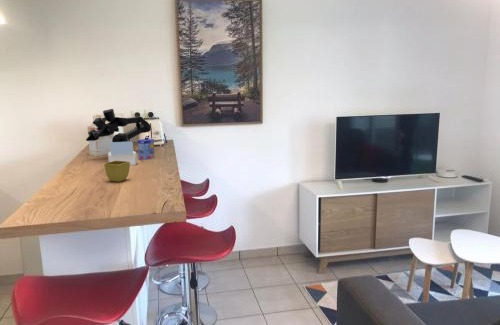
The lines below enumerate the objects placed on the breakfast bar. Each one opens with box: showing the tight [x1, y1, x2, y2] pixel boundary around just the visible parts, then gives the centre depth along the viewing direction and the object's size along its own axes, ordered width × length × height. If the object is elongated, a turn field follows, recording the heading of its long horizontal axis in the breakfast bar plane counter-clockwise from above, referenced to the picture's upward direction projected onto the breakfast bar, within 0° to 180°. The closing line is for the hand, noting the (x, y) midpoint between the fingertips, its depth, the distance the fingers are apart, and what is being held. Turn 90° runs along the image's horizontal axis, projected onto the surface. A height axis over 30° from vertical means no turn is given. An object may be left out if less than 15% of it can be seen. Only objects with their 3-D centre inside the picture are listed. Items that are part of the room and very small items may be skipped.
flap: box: [110, 140, 134, 155], centre depth 232 cm, size 1×12×7 cm, turn 108°
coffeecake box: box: [86, 125, 115, 158], centre depth 270 cm, size 15×7×20 cm, turn 144°
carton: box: [107, 150, 138, 166], centre depth 239 cm, size 13×15×6 cm
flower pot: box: [103, 161, 131, 183], centre depth 197 cm, size 9×9×9 cm
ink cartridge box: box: [137, 135, 155, 161], centre depth 254 cm, size 10×6×14 cm, turn 158°
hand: (91, 138), depth 240 cm, fingers open, 9 cm apart
